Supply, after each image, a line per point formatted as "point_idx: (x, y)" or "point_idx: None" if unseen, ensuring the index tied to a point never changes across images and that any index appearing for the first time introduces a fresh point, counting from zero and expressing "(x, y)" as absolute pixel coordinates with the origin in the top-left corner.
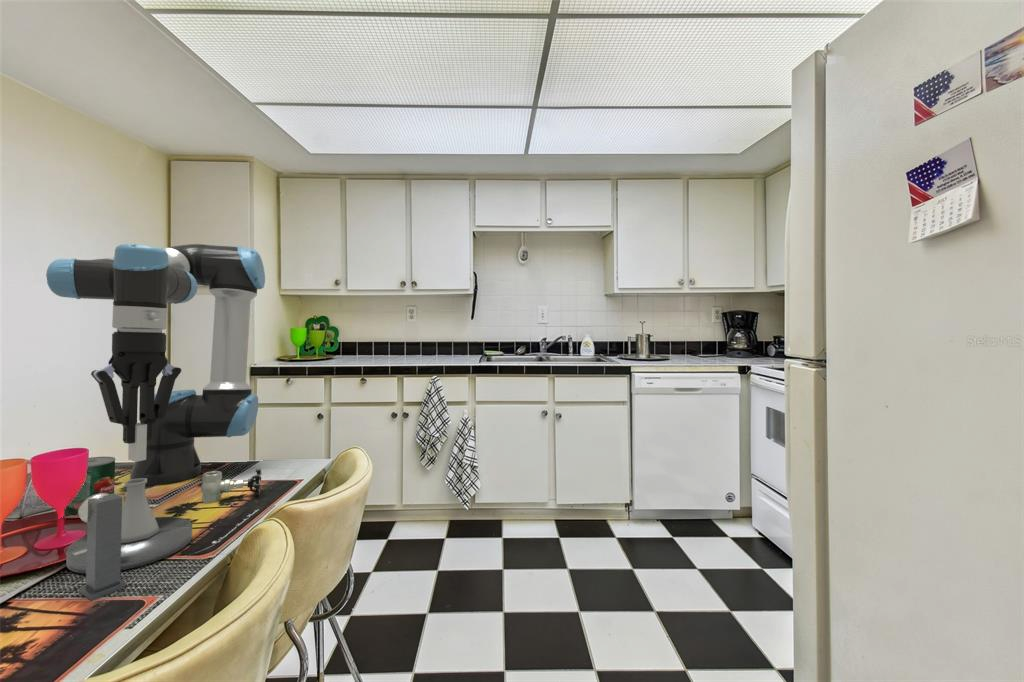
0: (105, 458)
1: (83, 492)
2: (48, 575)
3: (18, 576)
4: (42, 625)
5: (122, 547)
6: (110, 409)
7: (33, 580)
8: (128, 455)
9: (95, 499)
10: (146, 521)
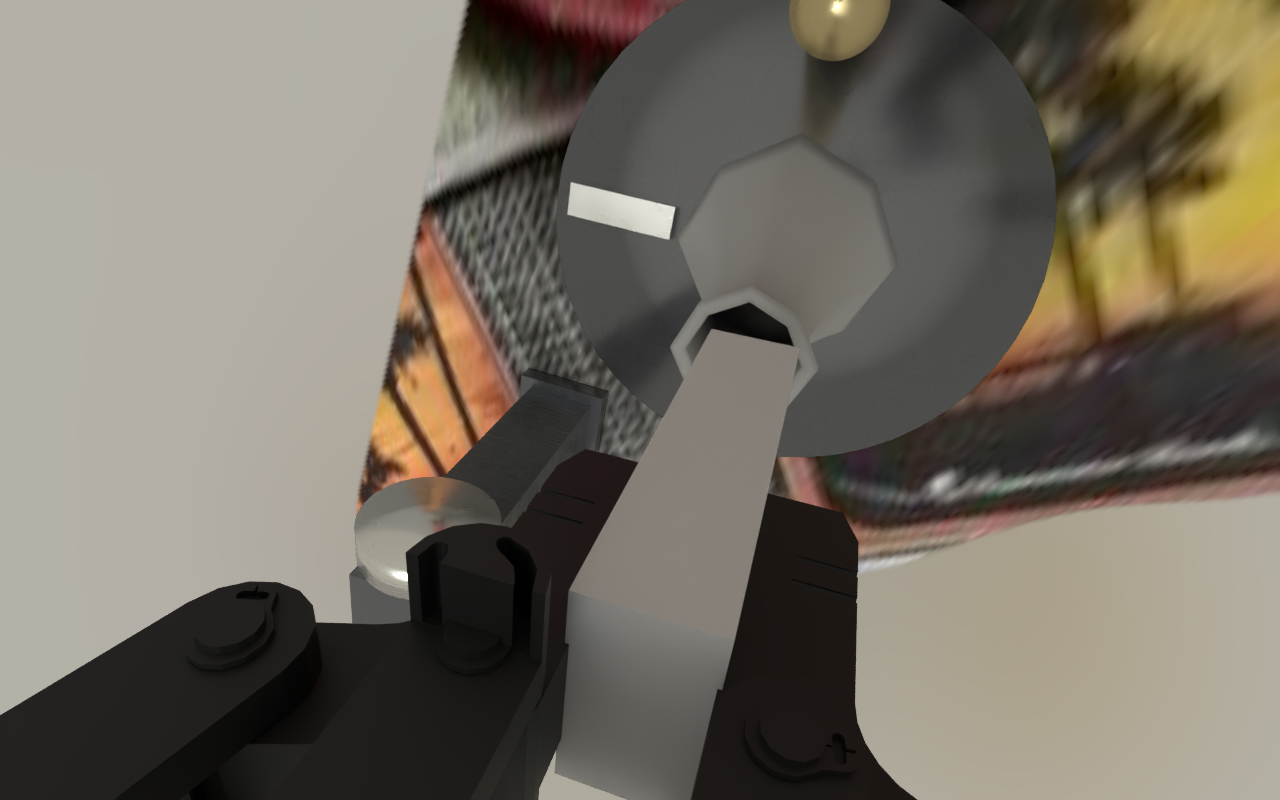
0: None
1: None
2: (537, 140)
3: (486, 30)
4: (426, 432)
5: (682, 318)
6: None
7: (499, 131)
8: (704, 346)
9: (365, 602)
10: None
